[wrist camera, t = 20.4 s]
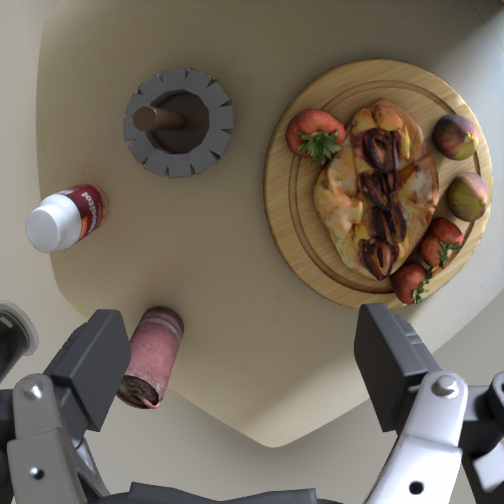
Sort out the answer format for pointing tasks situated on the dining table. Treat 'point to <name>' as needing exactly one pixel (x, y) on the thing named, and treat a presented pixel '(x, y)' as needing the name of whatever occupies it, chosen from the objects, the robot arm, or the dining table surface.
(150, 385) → the can
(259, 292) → the dining table surface
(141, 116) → the peg stand
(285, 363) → the dining table surface
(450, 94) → the wooden plate
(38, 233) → the pill bottle
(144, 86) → the gear
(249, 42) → the dining table surface
